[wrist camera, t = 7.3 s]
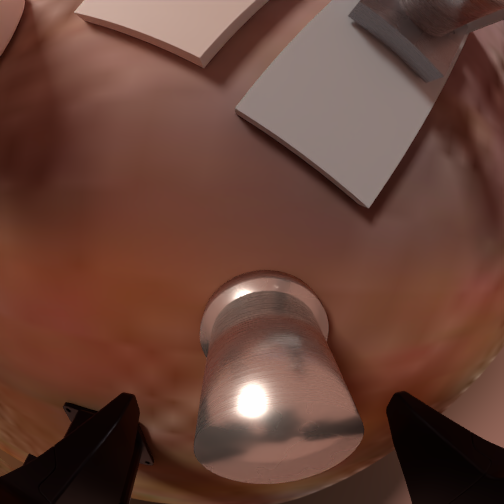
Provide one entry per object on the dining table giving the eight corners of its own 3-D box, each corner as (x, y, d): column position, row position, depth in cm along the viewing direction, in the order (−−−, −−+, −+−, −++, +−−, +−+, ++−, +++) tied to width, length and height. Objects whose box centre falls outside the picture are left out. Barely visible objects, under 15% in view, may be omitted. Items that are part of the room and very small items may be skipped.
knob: (311, 370, 14) (345, 478, 7) (204, 369, 13) (187, 484, 7) (332, 272, 12) (411, 374, 5) (201, 266, 12) (160, 382, 5)
